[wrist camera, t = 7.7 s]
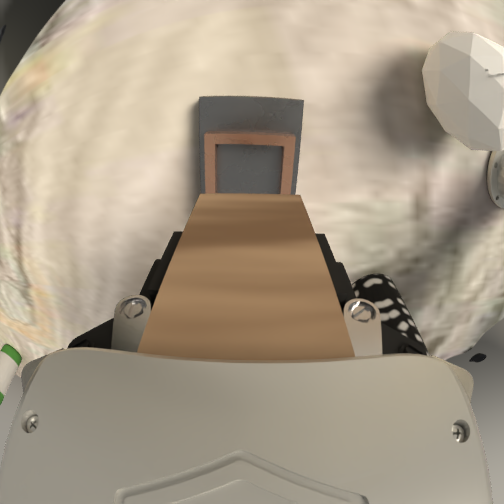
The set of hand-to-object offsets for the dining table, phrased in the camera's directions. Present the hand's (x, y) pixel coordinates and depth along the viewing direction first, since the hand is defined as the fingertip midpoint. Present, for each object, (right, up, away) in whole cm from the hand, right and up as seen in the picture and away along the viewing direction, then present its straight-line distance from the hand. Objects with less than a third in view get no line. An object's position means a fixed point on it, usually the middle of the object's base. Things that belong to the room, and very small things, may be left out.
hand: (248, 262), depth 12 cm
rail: (0, +4, +21) cm, 21 cm away
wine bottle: (-74, -30, +44) cm, 91 cm away
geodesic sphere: (+23, +21, +10) cm, 33 cm away
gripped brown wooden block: (0, +2, +2) cm, 3 cm away
